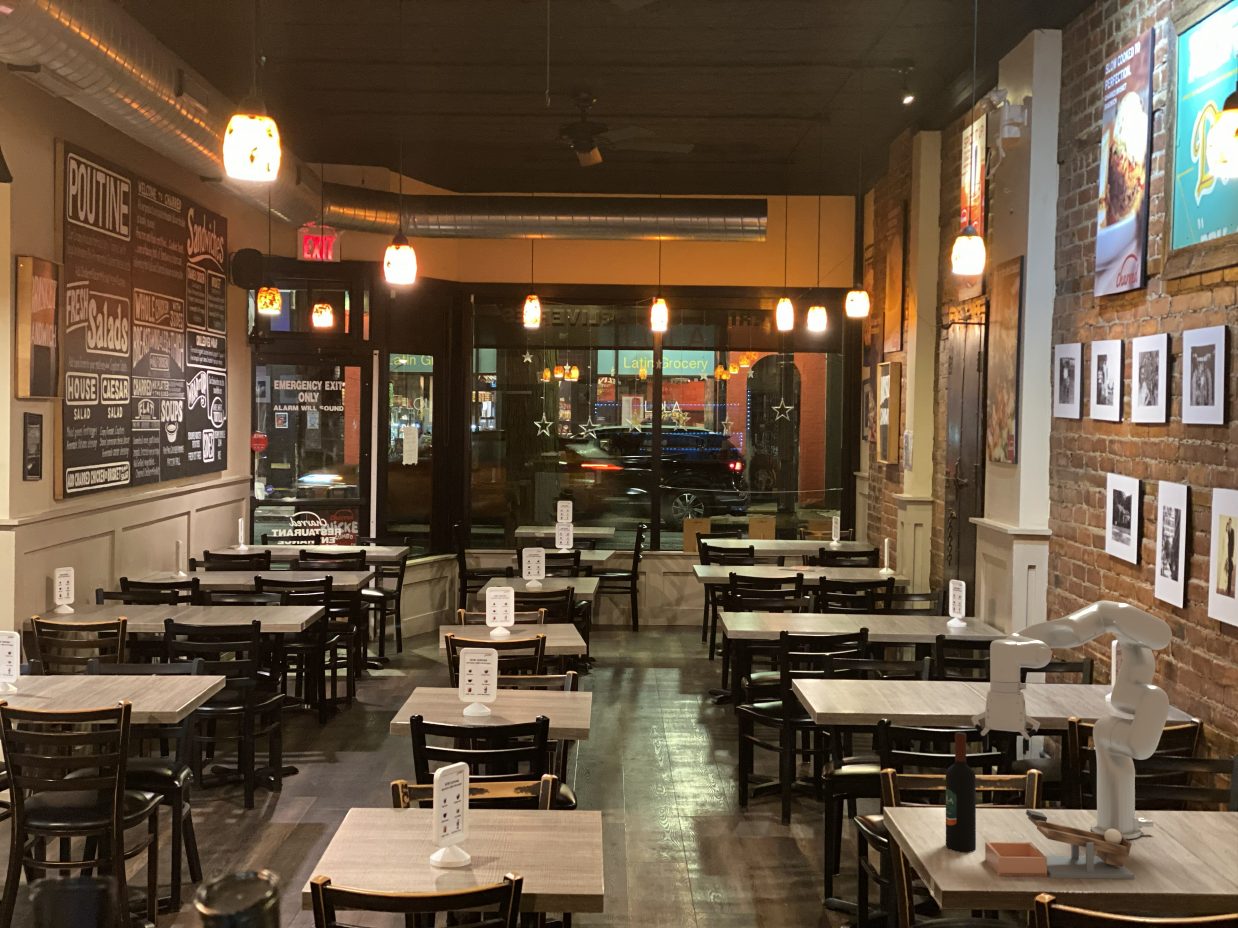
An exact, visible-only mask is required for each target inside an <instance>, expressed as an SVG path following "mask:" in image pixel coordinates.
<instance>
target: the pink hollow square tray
mask: <svg viewBox="0 0 1238 928" xmlns="http://www.w3.org/2000/svg"><path fill="white" fill-rule="evenodd" d="M984 844H985V845H984V846H985V847H984V849H985V850H984V856H985V857H984V858H985V859H984V860H985V861H986V862H987V863H988V864H989V866H990V867H991V868H992V869H993V870H994V871H995V873H996V874H997V876H999V877H1042V878H1043V877H1048V874H1047V858H1046V857H1045V856H1044V853H1042V851H1040V849H1038V848H1037V846H1035V845H1034V844H1033V843H1032V842H1028V841H1026V842H1024V841H1022V842H1019V841H1018V842H1017V841H1014V842H1013V841H984Z"/></svg>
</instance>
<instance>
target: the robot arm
mask: <svg viewBox="0 0 1238 928" xmlns="http://www.w3.org/2000/svg"><path fill="white" fill-rule="evenodd" d="M1106 633H1107V634H1108V633H1112V634H1114V637H1115V638H1116V640H1117V642H1118V644H1119V647H1120V650H1121V653H1122V655H1121V656H1122V659H1121V660H1122V661H1121V665H1120V668H1119V671H1118V674H1117V677H1116V679H1115V682H1114V684H1113V688H1112V691H1111V694H1110V704H1111V706H1112V707H1113V709H1114V710H1116V711H1117V712H1120V713H1122V714H1125V715H1128V716H1131V717H1133V719H1132V720H1131V719H1127V718H1124V717H1121V716H1117V715H1104V716H1101V717H1100V718H1098V719H1097V720H1096V721H1095V723H1094V726H1093V727H1092V739H1093V744H1094V748H1095V756H1096V821H1095V822H1092V823H1091V825H1090V829H1091V832H1094V833H1099V834H1103V835H1104V834H1105V832H1106V831H1107V830H1108V829H1116V830H1118V831H1119V832H1120V834H1121V836H1123V837H1124V838H1125V839H1126V840H1132V839H1138V838H1139V837H1141V836H1142V830H1141V829H1142V827H1145V828H1153V827H1154V820H1152V819H1145V818H1144V817H1138V816H1136V815H1135V813H1136V812H1135V811H1136V808H1135V807H1136V796H1135V795H1136V789H1135V787H1136V786H1135V783H1136V782H1135V780H1136V779H1135V778H1136V774H1135V773H1136V772H1135V771H1136V770H1135V764H1134V761H1133V759H1135V760H1140V761H1141V760H1147V759H1149V758H1150V757H1152V755H1154V753H1155V752H1156V750H1157V748H1158V746H1159V742H1160V741H1161V740H1160V739H1161V736H1162V734H1163V731H1164V729H1165V725H1166V722H1167V719H1168V716H1169V712H1170V699H1169V696H1168V694H1167V692H1166V691H1165V690H1164V689H1162V688H1161V687H1160V686H1157V685H1153V684H1152V683H1153V679H1154V675H1155V672H1156V660H1155V655H1154V653H1153V651H1159V650H1163V649H1165V648H1167V647H1168V645H1170V643H1171V641H1172V638H1173V633H1172V630H1171V627H1170V625H1169V624H1168V623H1167V622H1166V621H1165V620H1164V619H1162V618H1159V617H1157V616H1155V615H1153V614H1151V613H1149V612H1146V611H1144V610H1142V609H1140V608H1138V607H1136V606H1134V605H1132V604H1128V603H1125V602H1118V601H1111V600H1105V599H1104V600H1098V601H1097V600H1096V601H1095V602H1092V603H1090V604H1088V605H1086V606H1083V607H1082V608H1079V610H1076V611H1074V612H1072V613H1069V614H1068V615H1065V616H1063V617H1060V618H1056V619H1052V620H1047V621H1044V622H1038V623H1035V624H1032V625H1031V624H1030V625H1029V626H1026V627H1024V628H1021V629H1019V630H1016V631H1015V632H1013V633H1011V634H1009V635H1008V636H1007V637H1006V638H1004V639H995V640H992V641H991V643H990V646H989V650H990V651H989V652H990V653H989V654H990V655H989V657H990V658H989V659H990V660H989V661H990V662H989V666H990V668H989V673H990V678H989V679H990V683H989V684H990V686H989V687H990V688H989V689H988V690H987V694H986V700H985V710H984V711H983V712H980V713H978V714H976V715H972V716H971V718H970V719H971V722H972V724H973V725H974V728H975V729H976V730H977V732H979V734H980V735H981V747H983V748H984V752H988V750H989V745H990V744H989V743H990V741H989V740H990V739H989V734H988V733H989V731H990V730H993V731H1003V732H1005V731H1006V732H1014V733H1016V732H1018V733H1020V734H1021V735H1022V737H1023V738H1022V754H1023V755H1024V756H1026V755H1027V752H1029V751H1030V739H1031V738H1032V737H1033V736H1035V734H1036V733H1037V732H1038V730H1039V728H1040V726H1041V722H1040V721H1038V720H1036V719H1034V717H1033V718H1032V717H1031V716H1029V715H1027V710H1026V709H1027V707H1026V699H1025V694H1024V692H1022V690H1027V684H1026V683H1022V682H1021V668H1029V669H1030V668H1031V669H1041V668H1044V667H1046V666H1047V665H1048V664H1049V663H1050V662H1051V660H1052V655H1053V653H1052V649H1071V648H1077V647H1080V646H1083V645H1085V644H1086V643H1088V642H1090V641H1092V640H1094V639H1096V638H1098V637H1100V636H1102V635H1105V634H1106ZM1152 650H1153V651H1152ZM982 719H984V723H985V724H984V725H985V726H984V727H983V726H982V725H981V724H980V722H979V720H980V721H981V720H982ZM1027 723H1029V724H1030V725H1032V728H1031V729H1030V730H1027V728H1026V726H1027Z"/></svg>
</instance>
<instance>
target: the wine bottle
mask: <svg viewBox="0 0 1238 928" xmlns="http://www.w3.org/2000/svg"><path fill="white" fill-rule="evenodd" d="M954 754H955V755H954V764H952V765H950V766H949V767H948V769H946V772H945V847H946V849H948V850H950V851H953V852H958V851H959V853H971V852H970V851H972V852H974V851H976V849H977V843H976V842H977V841H976V840H977V839H976V838H977V837H976V835H977V831H976V830H977V824H976V823H977V821H976V820H977V818H976V817H977V816H976V815H977V811H976V810H977V805H976V803H977V802H976V801H977V800H976V799H977V798H976V797H977V796H976V795H977V793H976V791H977V790H976V789H977V788H976V787H977V785H976V784H977V783H976V780H977V779H976V778H977V777H976V773H975V772H974V770H973V769H972V768H971V767H970V766H969V765H968V764H967V733H966V732H961V731H956V732H955V733H954ZM973 850H974V851H973Z"/></svg>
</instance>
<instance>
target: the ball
mask: <svg viewBox="0 0 1238 928" xmlns="http://www.w3.org/2000/svg"><path fill="white" fill-rule="evenodd" d="M1104 838H1105V840H1106V842H1108V843H1113V844H1120V843H1121V840H1122V836H1121V834H1120V832H1119V831H1118V830H1116V829H1108V830H1107V831H1106V832H1105V834H1104Z"/></svg>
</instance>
